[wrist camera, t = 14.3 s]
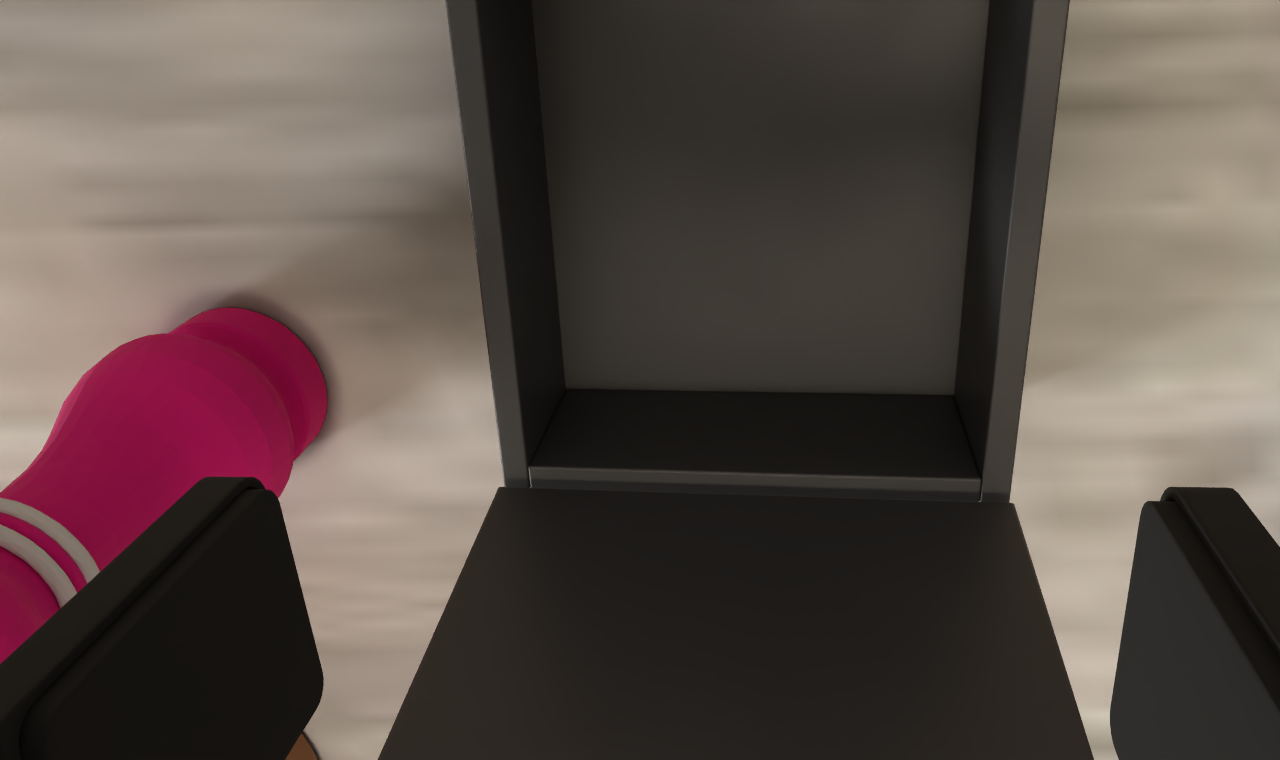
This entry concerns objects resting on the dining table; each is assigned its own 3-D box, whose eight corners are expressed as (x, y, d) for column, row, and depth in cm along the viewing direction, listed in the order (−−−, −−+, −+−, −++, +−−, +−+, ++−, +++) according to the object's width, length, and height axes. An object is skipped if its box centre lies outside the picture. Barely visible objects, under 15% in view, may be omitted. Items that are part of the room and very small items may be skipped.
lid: (220, 1107, 15) (233, 1134, 16) (1248, 1245, 13) (1234, 1272, 13) (498, 485, 29) (501, 507, 30) (1014, 501, 27) (1011, 525, 28)
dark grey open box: (505, -80, 29) (435, -81, 24) (1024, -109, 27) (1084, -118, 21) (550, 399, 36) (504, 489, 30) (973, 406, 33) (1009, 505, 28)
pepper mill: (347, 317, 35) (-118, 722, 17) (337, 487, 39) (-66, 979, 21) (155, 273, 36) (-495, 625, 18) (160, 445, 39) (-388, 892, 21)
